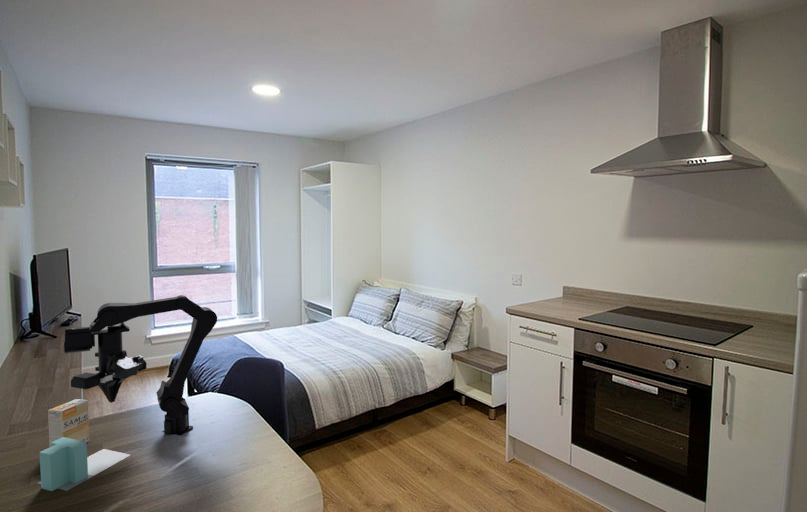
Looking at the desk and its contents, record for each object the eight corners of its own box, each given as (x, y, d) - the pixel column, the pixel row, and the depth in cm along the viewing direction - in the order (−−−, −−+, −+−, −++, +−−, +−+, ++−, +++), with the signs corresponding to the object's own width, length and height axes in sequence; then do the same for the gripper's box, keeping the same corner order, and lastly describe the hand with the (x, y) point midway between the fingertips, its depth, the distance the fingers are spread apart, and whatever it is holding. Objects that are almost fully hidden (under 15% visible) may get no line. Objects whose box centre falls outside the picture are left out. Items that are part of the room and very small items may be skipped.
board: (103, 451, 122) (103, 448, 122) (131, 457, 119) (130, 454, 119) (37, 485, 106) (37, 482, 106) (66, 493, 103) (66, 490, 103)
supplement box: (63, 457, 119) (61, 411, 118) (49, 455, 120) (46, 409, 119) (90, 443, 127) (88, 399, 126) (77, 441, 128) (75, 398, 127)
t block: (65, 471, 111) (63, 436, 111) (88, 476, 109) (86, 442, 108) (34, 486, 105) (32, 450, 104) (58, 493, 102) (56, 456, 102)
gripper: (99, 360, 112) (101, 419, 113) (160, 342, 130) (161, 394, 131) (68, 356, 116) (70, 413, 117) (131, 339, 133) (133, 389, 134)
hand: (111, 401), depth 124 cm, fingers closed
